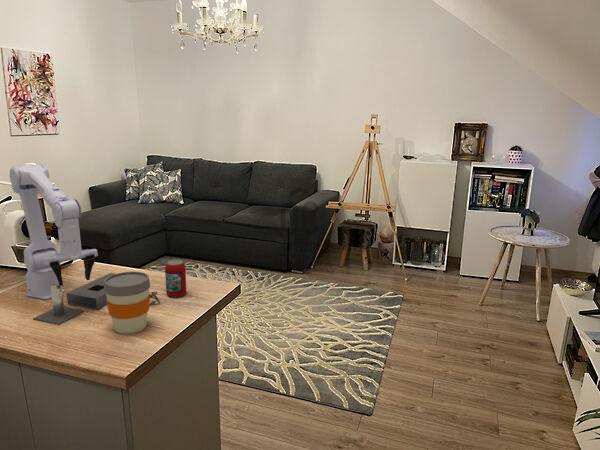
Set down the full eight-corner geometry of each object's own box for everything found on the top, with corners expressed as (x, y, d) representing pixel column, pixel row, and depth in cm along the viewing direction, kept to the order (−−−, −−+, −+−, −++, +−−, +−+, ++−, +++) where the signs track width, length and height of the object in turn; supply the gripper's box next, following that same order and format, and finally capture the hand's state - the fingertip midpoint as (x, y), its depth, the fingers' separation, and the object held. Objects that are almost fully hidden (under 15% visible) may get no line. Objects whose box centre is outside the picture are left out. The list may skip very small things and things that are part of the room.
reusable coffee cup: (118, 316, 138) (114, 270, 134) (158, 317, 138) (155, 271, 134) (99, 335, 126) (94, 286, 122) (143, 337, 126) (140, 287, 122)
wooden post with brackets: (163, 301, 147) (156, 291, 145) (140, 314, 145) (133, 303, 143) (162, 299, 149) (155, 289, 147) (139, 312, 146) (133, 301, 145)
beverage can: (162, 296, 153) (160, 263, 150) (174, 289, 159) (173, 257, 156) (178, 299, 151) (176, 266, 148) (190, 292, 157) (189, 260, 154)
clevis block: (67, 304, 145) (66, 293, 144) (111, 283, 164) (110, 273, 163) (97, 310, 142) (95, 298, 141) (138, 287, 160) (137, 277, 159)
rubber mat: (33, 319, 135) (33, 318, 135) (60, 306, 144) (60, 305, 144) (58, 325, 132) (58, 323, 131) (84, 311, 141) (84, 310, 141)
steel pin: (51, 315, 137) (47, 286, 134) (59, 311, 139) (56, 283, 137) (59, 316, 136) (55, 287, 133) (67, 312, 138) (63, 284, 136)
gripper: (45, 247, 126) (51, 291, 130) (99, 238, 136) (103, 280, 139) (40, 241, 132) (45, 284, 135) (92, 233, 141) (96, 274, 144)
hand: (74, 281), depth 137 cm, fingers open, 7 cm apart
